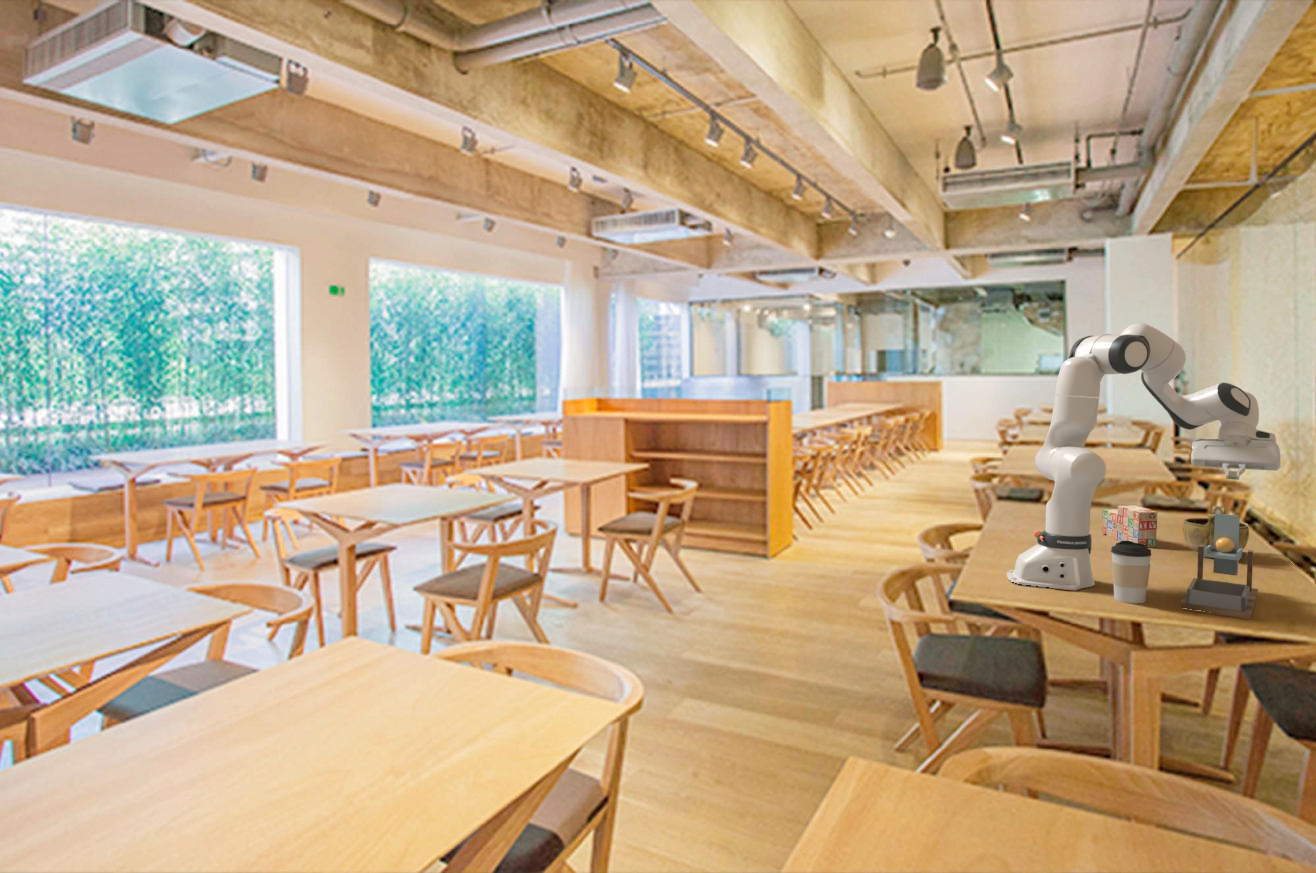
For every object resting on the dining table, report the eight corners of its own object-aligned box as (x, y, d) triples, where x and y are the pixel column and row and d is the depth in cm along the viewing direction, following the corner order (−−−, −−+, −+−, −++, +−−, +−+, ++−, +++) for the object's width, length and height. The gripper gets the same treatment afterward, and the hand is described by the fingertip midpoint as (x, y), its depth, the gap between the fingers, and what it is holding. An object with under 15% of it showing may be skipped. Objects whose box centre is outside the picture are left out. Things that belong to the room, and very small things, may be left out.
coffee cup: (1156, 605, 194) (1158, 547, 193) (1117, 604, 196) (1118, 546, 195) (1141, 595, 203) (1143, 539, 202) (1104, 594, 205) (1105, 539, 204)
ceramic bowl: (1246, 566, 230) (1248, 517, 228) (1178, 559, 240) (1180, 512, 239) (1248, 552, 247) (1250, 506, 246) (1185, 546, 257) (1186, 502, 256)
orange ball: (1218, 551, 200) (1219, 536, 201) (1212, 551, 204) (1213, 536, 204) (1236, 553, 199) (1237, 538, 199) (1230, 554, 203) (1231, 539, 203)
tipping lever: (1206, 569, 211) (1209, 511, 211) (1246, 574, 205) (1249, 515, 205) (1198, 576, 197) (1201, 515, 197) (1241, 582, 191) (1244, 518, 191)
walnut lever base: (1193, 585, 211) (1194, 543, 210) (1257, 594, 202) (1259, 549, 201) (1180, 608, 191) (1181, 561, 190) (1250, 619, 182) (1252, 570, 181)
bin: (1193, 591, 201) (1193, 578, 201) (1248, 598, 193) (1249, 585, 193) (1186, 603, 191) (1186, 589, 190) (1244, 612, 183) (1245, 597, 183)
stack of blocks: (1101, 534, 278) (1102, 501, 277) (1118, 534, 278) (1119, 500, 277) (1138, 547, 257) (1139, 511, 256) (1156, 547, 257) (1157, 511, 256)
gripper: (1192, 431, 223) (1186, 468, 217) (1282, 434, 210) (1279, 473, 203) (1193, 445, 227) (1187, 482, 220) (1282, 449, 214) (1279, 488, 207)
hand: (1232, 478), depth 212 cm, fingers closed
